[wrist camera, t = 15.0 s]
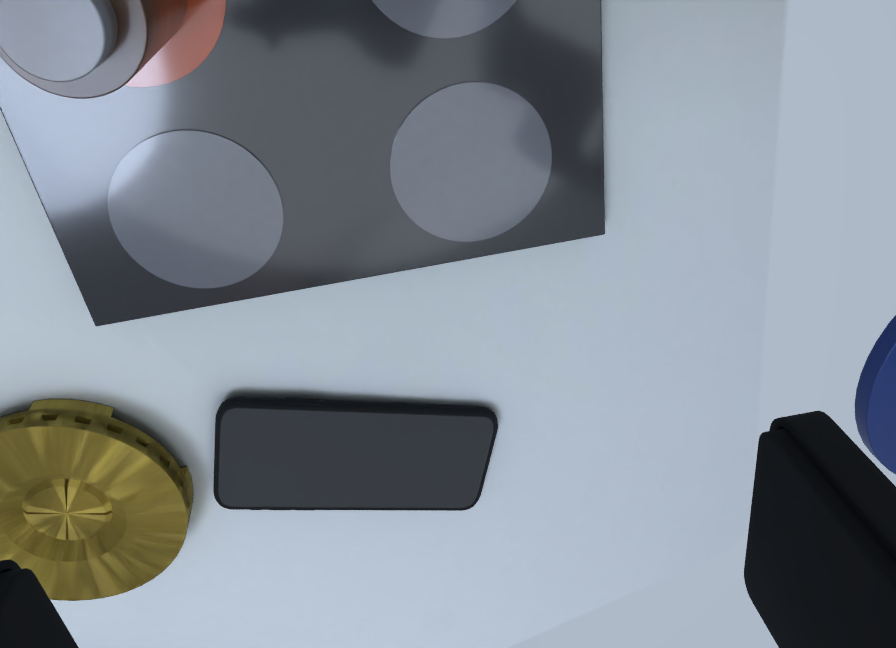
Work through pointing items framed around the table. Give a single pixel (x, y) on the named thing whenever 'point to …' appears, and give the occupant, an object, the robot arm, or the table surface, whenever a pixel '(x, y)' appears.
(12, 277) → the table surface
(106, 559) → the gold round disc
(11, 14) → the pepper mill
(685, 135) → the table surface
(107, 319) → the hob
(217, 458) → the smartphone
